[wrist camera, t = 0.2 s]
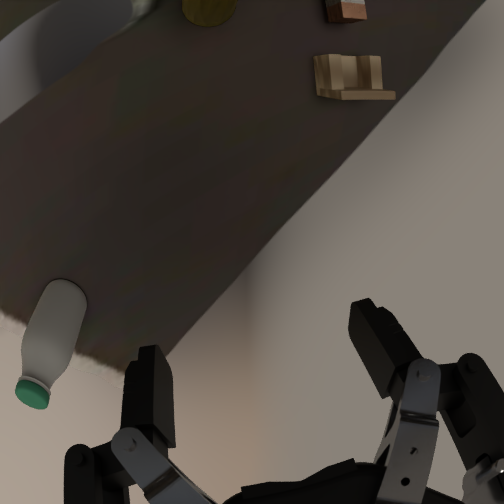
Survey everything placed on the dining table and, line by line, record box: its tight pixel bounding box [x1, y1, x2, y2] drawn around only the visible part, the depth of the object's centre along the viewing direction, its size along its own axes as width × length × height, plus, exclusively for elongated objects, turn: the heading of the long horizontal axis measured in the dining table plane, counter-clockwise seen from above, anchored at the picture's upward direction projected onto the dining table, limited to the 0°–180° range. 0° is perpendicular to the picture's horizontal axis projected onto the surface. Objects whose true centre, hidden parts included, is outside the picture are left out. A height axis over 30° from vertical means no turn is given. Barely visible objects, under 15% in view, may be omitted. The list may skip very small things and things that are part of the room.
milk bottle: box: [15, 279, 87, 409], centre depth 34 cm, size 8×8×20 cm
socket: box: [313, 54, 395, 100], centre depth 30 cm, size 5×7×7 cm
